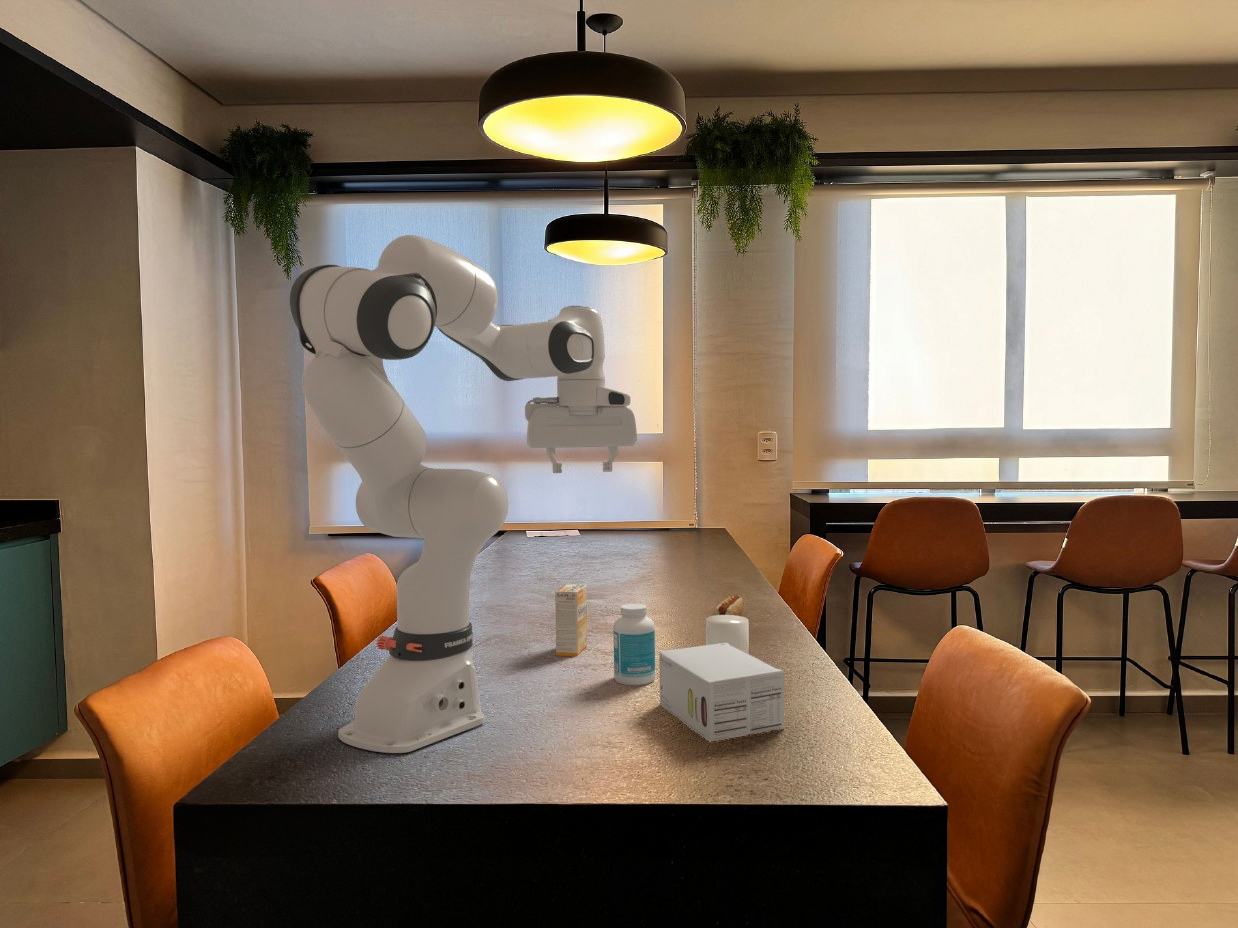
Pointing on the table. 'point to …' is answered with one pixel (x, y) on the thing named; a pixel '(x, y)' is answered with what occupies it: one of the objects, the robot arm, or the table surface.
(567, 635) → the supplement box
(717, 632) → the white rounded cylinder
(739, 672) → the supplement box
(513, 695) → the table surface
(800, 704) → the table surface
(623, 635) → the pill bottle
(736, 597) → the food
